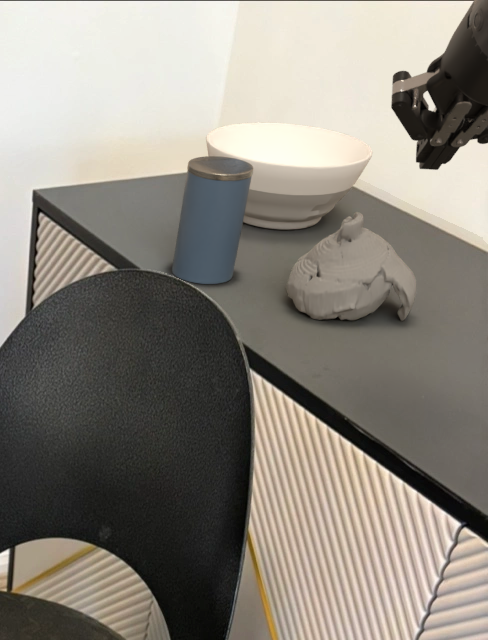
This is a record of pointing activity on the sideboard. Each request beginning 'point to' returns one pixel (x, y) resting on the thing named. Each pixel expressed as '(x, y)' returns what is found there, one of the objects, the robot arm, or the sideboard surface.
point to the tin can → (211, 219)
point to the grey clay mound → (350, 275)
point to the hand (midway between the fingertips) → (427, 159)
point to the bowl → (291, 169)
